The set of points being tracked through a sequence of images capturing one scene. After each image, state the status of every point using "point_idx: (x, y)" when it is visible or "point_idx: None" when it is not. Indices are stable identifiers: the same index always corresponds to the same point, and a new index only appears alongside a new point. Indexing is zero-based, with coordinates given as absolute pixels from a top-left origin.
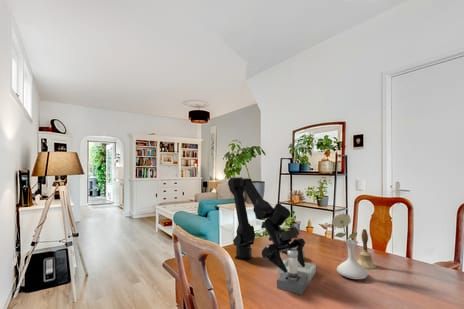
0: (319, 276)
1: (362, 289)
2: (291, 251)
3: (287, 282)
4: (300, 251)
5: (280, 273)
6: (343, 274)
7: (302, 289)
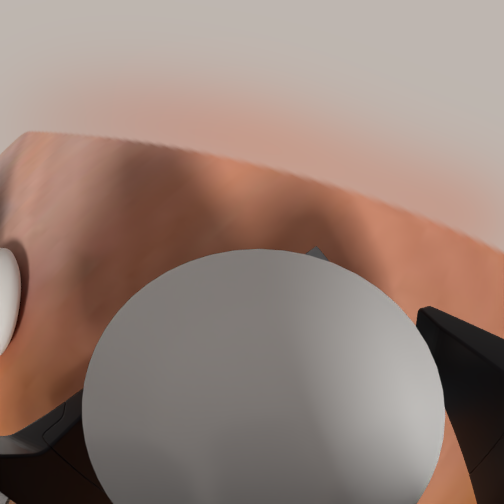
0: (74, 386)
1: (54, 216)
2: (355, 378)
3: None
4: (32, 443)
5: None
6: (15, 298)
7: None
